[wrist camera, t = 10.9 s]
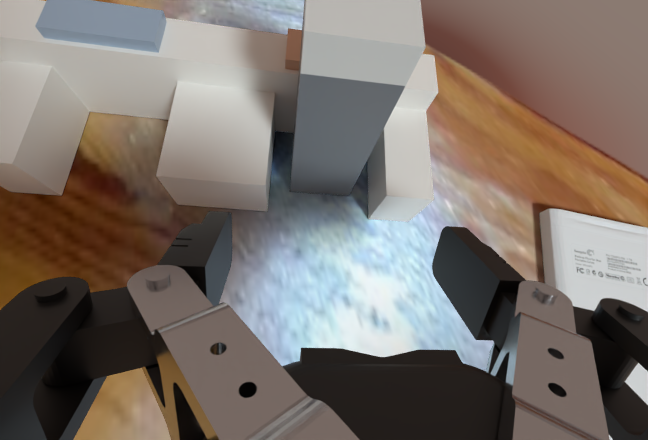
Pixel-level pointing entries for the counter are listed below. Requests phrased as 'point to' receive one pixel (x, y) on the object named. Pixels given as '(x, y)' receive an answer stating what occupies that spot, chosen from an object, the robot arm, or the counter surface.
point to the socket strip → (181, 103)
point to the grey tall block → (349, 86)
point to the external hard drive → (597, 266)
